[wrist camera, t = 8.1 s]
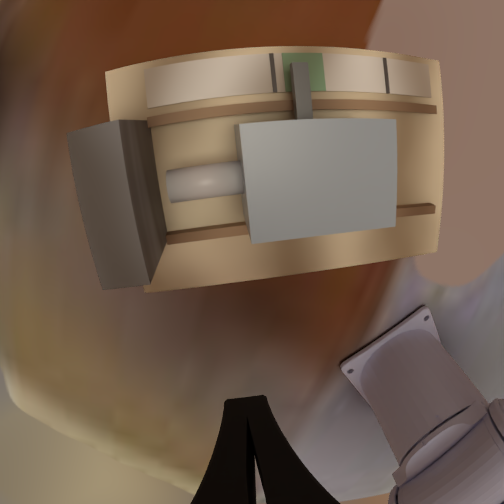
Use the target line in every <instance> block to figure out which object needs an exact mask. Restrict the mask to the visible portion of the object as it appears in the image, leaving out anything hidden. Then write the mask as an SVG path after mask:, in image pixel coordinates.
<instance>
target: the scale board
mask: <svg viewBox="0 0 504 504" xmlns="http://www.w3.org/2000/svg"><path fill="white" fill-rule="evenodd" d="M292 62H308V68H309V78H310V88H311V99H312V110H313V119H325V118H373V119H396V129H397V205H396V225H395V227H388V228H379V229H371V230H363V231H354V232H346V233H338V234H329V235H321V236H313V237H305V238H297V239H289V240H281V241H273V242H265V243H257V244H251V240H250V237H249V233H248V229H247V226H246V222H245V218H244V215H243V206H242V197H241V194H237V195H229V196H221V197H214V198H206V199H199V200H191V201H184V202H178V203H171V202H170V200H169V197H168V193H167V186H166V171H167V170H171V169H178V168H184V167H191V166H198V165H205V164H213V163H221V162H229V161H238V159H237V150H236V140H235V131H234V124H244V123H255V122H267V121H280V120H295V115H294V104H293V93H292V83H291V74H290V64H291V63H292ZM105 75H106V87H107V97H108V107H109V115H110V122H106V123H102V124H98V125H94V126H91V127H87V128H83V129H80V130H76V131H73V132H69V133H67V140H68V147H69V153H70V159H71V165H72V171H73V176H74V181H75V186H76V191H77V196H78V201H79V205H80V210H81V214H82V218H83V222H84V227H85V231H86V234H87V238H88V242H89V246H90V249H91V253H92V257H93V260H94V263H95V267H96V270H97V273H98V277H99V280H100V283H101V286H102V289H103V290H107V289H116V288H126V287H134V286H143V288H144V291H145V293H151V292H160V291H169V290H177V289H186V288H194V287H202V286H211V285H219V284H227V283H234V282H242V281H250V280H257V279H265V278H272V277H280V276H287V275H294V274H301V273H308V272H315V271H322V270H329V269H335V268H342V267H349V266H355V265H362V264H368V263H374V262H381V261H387V260H393V259H399V258H405V257H411V256H417V255H423V254H428V253H435V252H437V247H438V239H439V231H440V221H441V210H442V196H443V177H444V117H443V99H442V86H441V76H440V67H439V61H436V60H431V59H426V58H420V57H415V56H410V55H403V54H397V53H389V52H381V51H374V50H364V49H353V48H338V47H315V46H277V47H254V48H239V49H228V50H218V51H209V52H201V53H194V54H187V55H181V56H175V57H169V58H164V59H158V60H153V61H148V62H144V63H139V64H135V65H131V66H126V67H122V68H118V69H114V70H111V71H107V72H105Z"/></svg>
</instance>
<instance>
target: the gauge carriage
mask: <svg viewBox="0 0 504 504" xmlns="http://www.w3.org/2000/svg"><path fill="white" fill-rule="evenodd" d="M290 74H291V83H292V93H293V104H294V115H295V120H280V121H267V122H255V123H244V124H234V131H235V140H236V150H237V159H238V161H229V162H221V163H213V164H205V165H198V166H191V167H184V168H178V169H171V170H167V171H166V186H167V193H168V197H169V200H170V202H171V203H178V202H184V201H191V200H199V199H206V198H214V197H221V196H229V195H237V194H241V197H242V206H243V215H244V218H245V222H246V226H247V229H248V233H249V237H250V240H251V244H257V243H265V242H273V241H281V240H289V239H297V238H305V237H313V236H321V235H329V234H338V233H346V232H354V231H363V230H371V229H379V228H388V227H395V225H396V205H397V129H396V119H373V118H325V119H313V110H312V99H311V88H310V78H309V68H308V62H292V63H291V64H290Z"/></svg>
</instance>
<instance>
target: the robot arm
mask: <svg viewBox="0 0 504 504" xmlns="http://www.w3.org/2000/svg"><path fill="white" fill-rule="evenodd" d="M425 316H426V317H425ZM424 317H425V318H424ZM340 368H341V370H342V372H343V373H344V374H345V376H346V377H347V378H348V379H349V381H350V382H351V383H352V384H353V385H354V387H355V388H356V389H357V390H358V392H359V393H360V394H361V395H362V397H363V398H364V399H365V400H366V401H367V403H368V404H369V405H370V406H371V408H372V409H373V411H374V413H375V415H376V417H377V419H378V421H379V424H380V426H381V428H382V430H383V432H384V434H385V436H386V438H387V440H388V442H389V445H390V447H391V449H392V451H393V453H394V455H395V457H396V460H397V462H398V464H399V466H400V467H399V468H398V469H397V470H396V471H395V472H394V473H393V474H392V475H393V477H394V480H395V482H396V484H397V485H395V486H394V487H393V489H392V490H391V492H390V495H389V500H388V504H504V399H498V398H497V399H495V400H493V402H492V403H491V404H490V403H488V402H487V401H486V399H485V398H484V397H483V396H482V394H481V393H480V392H479V390H478V389H477V388H476V387H475V385H474V384H473V383H472V382H471V380H470V379H469V378H468V376H467V375H466V374H465V373H464V372H463V370H462V369H461V368H460V367H459V365H458V364H457V363H456V362H455V361H454V359H453V358H452V357H451V356H450V354H449V353H448V352H447V351H446V350H445V349H444V347H443V346H442V344H441V341H440V338H439V335H438V332H437V329H436V326H435V323H434V320H433V318H432V315H431V312H430V310H429V308H428V307H427V306H423V307H421V308H420V309H419V310H417V311H416V312H415V313H413V314H412V315H411V316H409V317H408V318H407V319H405V320H404V321H403V322H401V323H400V324H398V325H397V326H396V327H394V328H393V329H392V330H390V331H389V332H387V333H386V334H384V335H383V336H382V337H380V338H379V339H377V340H376V341H374V342H373V343H371V344H370V345H368V346H367V347H365V348H364V349H362V350H361V351H359V352H358V353H356V354H355V355H353V356H352V357H350V358H349V359H347V360H345V361H344V362H343V363H342V364H341V365H340ZM349 369H350V370H349ZM254 455H255V457H254ZM255 459H256V463H257V467H258V471H259V475H260V478H261V482H262V486H263V490H264V494H265V497H266V504H340V503H339V502H338V501H337V500H336V499H335V498H334V497H332V496H331V495H330V494H329V493H328V492H327V490H326V489H325V488H324V487H323V486H322V485H321V484H320V483H319V482H318V481H317V480H316V479H315V478H314V476H313V475H312V474H311V473H310V472H309V470H308V469H307V468H306V467H305V465H304V464H303V463H302V461H301V460H300V459H299V457H298V456H297V455H296V453H295V452H294V450H293V449H292V447H291V446H290V444H289V443H288V441H287V440H286V438H285V436H284V435H283V433H282V431H281V430H280V428H279V426H278V424H277V422H276V420H275V418H274V416H273V414H272V412H271V409H270V407H269V404H268V401H267V397H266V396H264V395H259V396H252V397H244V398H235V399H227V400H226V401H225V402H224V411H223V417H222V422H221V427H220V431H219V435H218V438H217V441H216V445H215V448H214V451H213V454H212V457H211V460H210V462H209V465H208V467H207V470H206V473H205V475H204V477H203V480H202V482H201V484H200V486H199V488H198V490H197V492H196V494H195V496H194V498H193V500H192V502H191V504H256V484H255Z"/></svg>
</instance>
